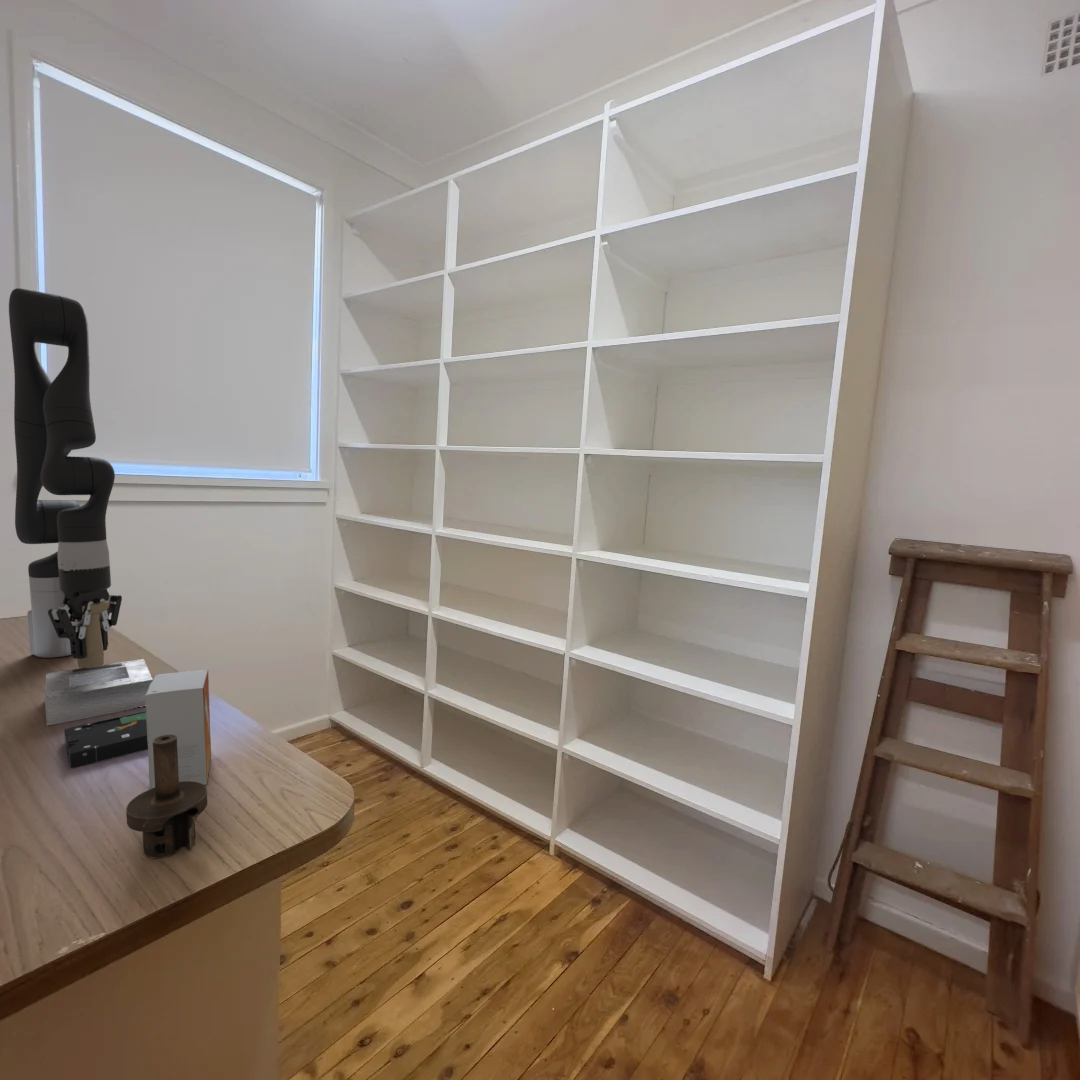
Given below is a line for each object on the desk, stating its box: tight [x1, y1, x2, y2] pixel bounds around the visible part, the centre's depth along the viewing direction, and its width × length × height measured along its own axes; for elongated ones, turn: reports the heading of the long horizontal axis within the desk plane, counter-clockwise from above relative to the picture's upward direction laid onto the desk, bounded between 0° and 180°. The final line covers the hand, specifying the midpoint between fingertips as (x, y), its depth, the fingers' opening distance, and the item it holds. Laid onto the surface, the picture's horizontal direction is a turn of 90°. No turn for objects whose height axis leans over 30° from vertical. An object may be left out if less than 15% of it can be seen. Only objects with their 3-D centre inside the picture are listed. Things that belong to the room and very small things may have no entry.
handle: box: [76, 600, 109, 669], centre depth 108 cm, size 5×6×15 cm
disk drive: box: [63, 710, 148, 769], centre depth 86 cm, size 10×3×15 cm
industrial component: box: [125, 734, 208, 859], centre depth 62 cm, size 9×7×12 cm
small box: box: [145, 669, 212, 790], centre depth 75 cm, size 8×6×13 cm
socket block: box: [44, 658, 154, 727], centre depth 99 cm, size 14×14×5 cm
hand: (90, 653), depth 109 cm, fingers closed on handle, 4 cm apart
